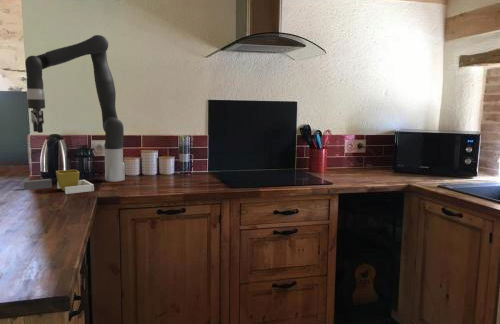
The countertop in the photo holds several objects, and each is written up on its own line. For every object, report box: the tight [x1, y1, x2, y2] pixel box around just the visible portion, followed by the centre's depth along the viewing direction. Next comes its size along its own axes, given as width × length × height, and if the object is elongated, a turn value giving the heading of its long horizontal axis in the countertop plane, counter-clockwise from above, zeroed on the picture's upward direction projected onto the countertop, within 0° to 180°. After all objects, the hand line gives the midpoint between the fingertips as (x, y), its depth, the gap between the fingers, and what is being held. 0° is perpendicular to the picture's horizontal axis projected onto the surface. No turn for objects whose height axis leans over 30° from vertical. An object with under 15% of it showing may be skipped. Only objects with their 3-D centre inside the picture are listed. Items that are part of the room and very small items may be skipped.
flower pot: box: [55, 169, 80, 192], centre depth 192 cm, size 9×9×9 cm
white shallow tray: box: [56, 179, 95, 195], centre depth 193 cm, size 12×15×3 cm
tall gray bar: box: [22, 178, 53, 191], centre depth 195 cm, size 12×3×4 cm, turn 129°
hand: (38, 132), depth 199 cm, fingers open, 8 cm apart
